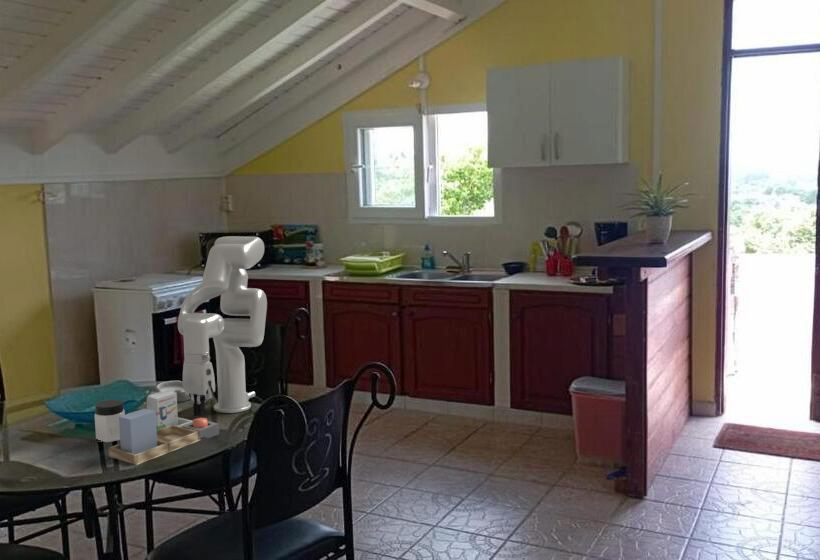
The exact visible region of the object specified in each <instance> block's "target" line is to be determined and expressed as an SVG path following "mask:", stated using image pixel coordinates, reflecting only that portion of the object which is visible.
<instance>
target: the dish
mask: <svg viewBox="0 0 820 560" xmlns="http://www.w3.org/2000/svg"><path fill="white" fill-rule="evenodd" d="M155 390H156V392H155V393H159V392H162V391H165V390H168V391H172V392H176V393H177V403H179V402H185V401H188V400H191V398H190V396H188V395H186V394H185V391H184V389H183V381H181V380H169V381H163V382H160V383H159V384H157V385H156V388H155Z"/></svg>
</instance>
